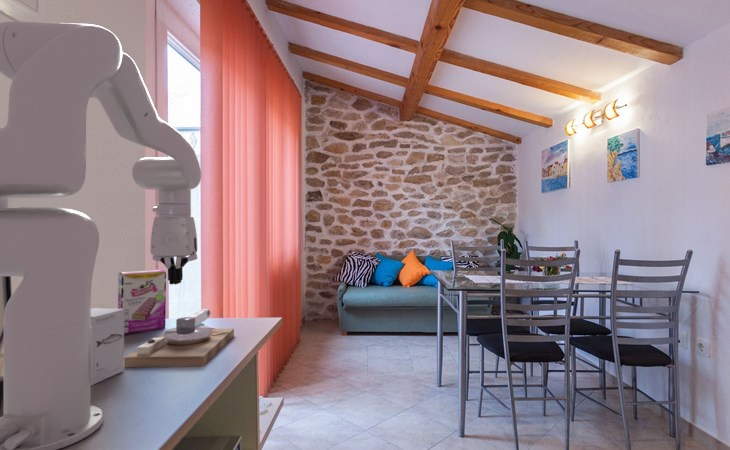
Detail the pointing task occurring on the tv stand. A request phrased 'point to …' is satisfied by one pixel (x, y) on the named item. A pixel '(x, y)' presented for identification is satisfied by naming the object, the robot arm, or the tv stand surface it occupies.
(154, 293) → the candy bar box
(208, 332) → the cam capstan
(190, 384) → the tv stand surface
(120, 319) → the supplement box
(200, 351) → the wooden cutting board
